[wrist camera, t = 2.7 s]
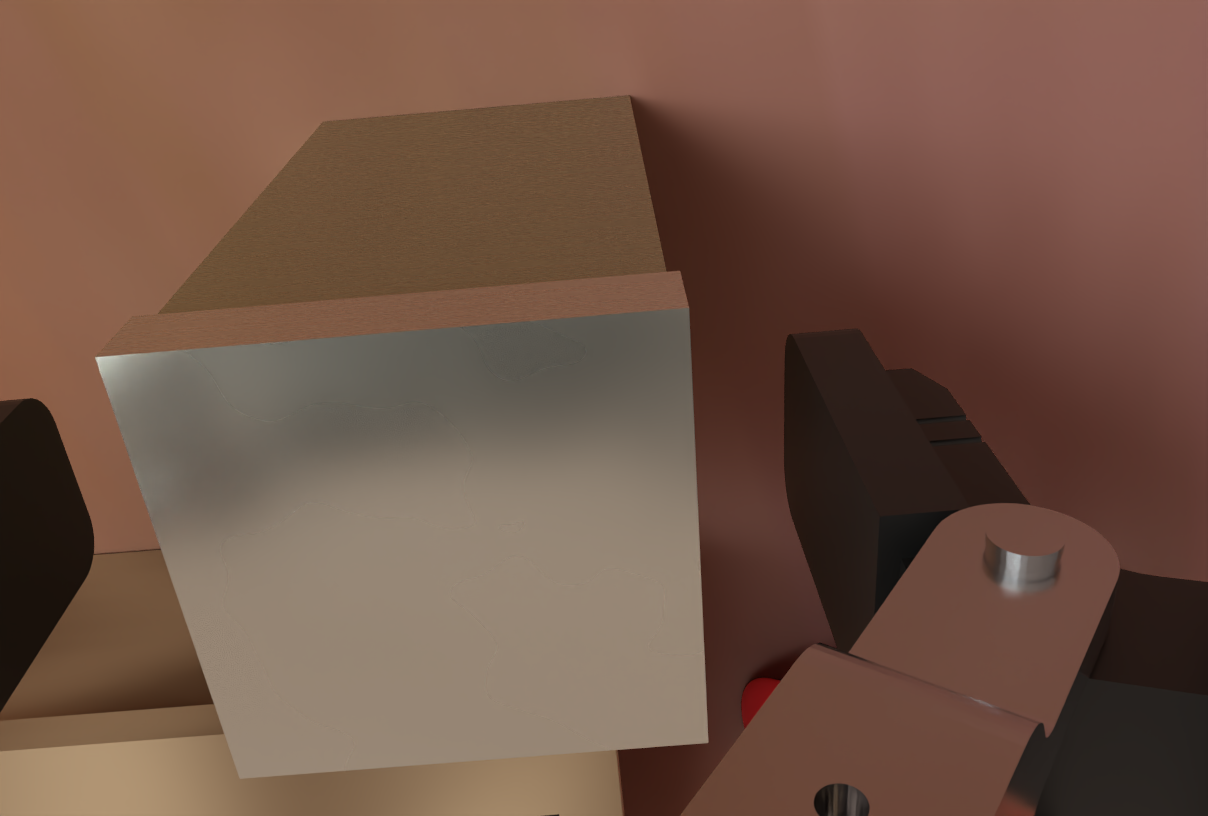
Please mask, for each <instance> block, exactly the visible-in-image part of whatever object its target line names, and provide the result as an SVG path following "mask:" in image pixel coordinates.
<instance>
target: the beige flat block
mask: <svg viewBox="0 0 1208 816" xmlns="http://www.w3.org/2000/svg"><path fill="white" fill-rule="evenodd" d="M557 814H559V816H624V806H623V796H622V787H621V777H620V767H619V757H618V750H609V751H596V752H583V753H570V754H557V755H544V756H531V757H518V758H505V759H492V760H479V761H466V762H453V763H439V764H426V765H413V766H400V767H387V768H374V769H361V770H348V771H335V772H322V773H309V774H296V775H283V776H270V777H257V778H244V779H240V778H239V775H238V772H237V769H236V766H235V763H234V761H233V758H232V755H231V752H230V749H229V746H228V743H227V740H226V737H225V734H224V731H223V729H222V726H221V723H220V720H219V717H218V714H217V711H216V708H215V705H214V702H213V699H212V696H211V694H210V691H209V688H208V685H207V682H206V679H205V676H204V673H203V670H202V667H201V664H200V661H199V659H198V656H197V653H196V650H195V647H194V644H193V641H192V638H191V635H190V632H189V629H188V626H187V624H186V621H185V618H184V615H183V612H182V609H181V606H180V603H179V600H178V597H177V594H176V592H175V589H174V586H173V583H172V580H171V577H170V574H169V571H168V568H167V565H166V562H165V559H164V557H163V554H162V551H161V550H150V551H138V552H125V553H113V554H100V555H93V561H92V565H91V568H90V571H89V574H88V576H87V577H86V579H85V581H84V582H83V584H82V586H81V587H80V589H79V590H78V592H77V593H76V595H75V596H74V598H73V600H72V601H71V603H70V604H69V606H68V607H67V609H66V611H65V612H64V614H63V615H62V617H61V618H60V620H59V622H58V623H57V625H56V626H55V628H54V629H53V631H52V633H51V634H50V636H49V637H48V639H47V640H46V642H45V643H44V645H43V647H42V648H41V650H40V651H39V653H38V654H37V656H36V658H35V659H34V661H33V662H32V664H31V665H30V667H29V669H28V670H27V672H26V673H25V675H24V676H23V678H22V679H21V681H20V683H19V684H18V686H17V687H16V689H15V690H14V692H13V694H12V695H11V697H10V698H9V700H8V701H7V703H6V705H5V706H4V708H3V709H2V711H1V712H0V816H545V815H557Z"/></svg>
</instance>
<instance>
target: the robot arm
mask: <svg viewBox="0 0 1208 816" xmlns="http://www.w3.org/2000/svg"><path fill="white" fill-rule="evenodd" d="M784 469H785V482H786V491H787V498H788V503H789V508H790V512H791V516H792V519H793V522H794V525H795V528H796V531H797V534H798V537H799V540H800V542H801V545H802V548H803V551H804V554H805V557H806V560H807V562H808V565H809V568H810V571H811V574H812V577H813V580H814V582H815V585H816V588H817V591H818V594H819V597H820V600H821V603H822V605H823V608H824V611H825V614H826V617H827V620H828V623H829V625H830V628H831V631H832V634H833V637H834V640H835V643H836V645H837V648H838V649H836V648H834V647H831V646H828V645H825V644H822V643H816V644H814V645H812V646H810V647H809V648H807V649H806V650H805V651H804V652H803V653H802V654H801V655H800V657H799V658H798V659H797V660H796V661H795V663H794V664H793V665H792V667H791V668H790V669H789V671H788V672H787V673H786V675H785V676H784V677H783V679H782V680H781V681H780V683H779V684H778V685H777V687H776V688H775V689H774V691H773V692H772V693H771V695H770V696H769V697H768V699H767V700H766V701H765V703H764V704H763V705H762V707H761V708H760V709H759V711H758V712H757V713H756V715H755V716H754V717H753V719H752V720H751V721H750V723H749V724H748V725H747V727H746V728H745V729H744V731H743V732H742V733H741V735H740V736H739V737H738V739H737V740H736V741H735V743H734V744H733V745H732V747H731V748H730V749H729V751H728V752H727V753H726V755H725V756H724V757H723V759H722V760H721V761H720V763H719V764H718V765H717V767H716V768H715V769H714V771H713V772H712V773H711V775H710V776H709V777H708V779H707V780H706V781H705V783H704V784H703V785H702V787H701V788H700V789H699V791H698V792H697V793H696V795H695V796H694V798H693V799H692V800H691V802H690V803H689V804H688V806H687V807H686V808H685V810H684V811H683V812H682V814H681V815H680V816H1208V582H1201V581H1193V580H1184V579H1175V578H1167V577H1158V576H1152V575H1145V574H1139V573H1135V572H1131V571H1127V570H1122V569H1120V563H1119V559H1118V556H1117V554H1116V551H1115V550H1114V548H1113V547H1112V546H1111V544H1110V543H1109V542H1108V541H1107V540H1106V539H1105V538H1104V537H1103V536H1102V535H1101V534H1100V533H1099V532H1097V531H1096V530H1094V529H1093V528H1091V527H1090V526H1089V525H1087V524H1085V523H1083V522H1081V521H1079V520H1077V519H1075V518H1073V517H1071V516H1068V515H1066V514H1063V513H1060V512H1057V511H1054V510H1050V509H1047V508H1042V507H1037V506H1033V505H1030V504H1029V503H1028V501H1027V500H1026V498H1025V497H1024V496H1023V494H1022V493H1021V491H1020V490H1019V489H1018V487H1017V486H1016V484H1015V483H1014V482H1013V480H1012V479H1011V477H1010V476H1009V475H1008V473H1007V472H1006V470H1005V469H1004V468H1003V466H1002V465H1001V463H1000V462H999V461H998V459H997V458H996V456H995V455H994V454H993V452H992V451H991V449H990V448H989V447H988V445H987V444H986V442H982V441H981V436H980V434H979V433H978V431H977V430H976V429H975V427H974V426H973V424H972V423H971V422H970V420H966V415H965V413H964V412H963V410H962V409H961V408H960V406H959V405H958V403H957V402H956V401H955V399H954V398H953V396H952V395H951V394H950V392H949V391H948V389H946V388H945V387H943V386H941V385H939V384H938V383H936V382H934V381H933V380H931V379H929V378H927V377H926V376H924V375H922V374H920V373H919V372H917V371H915V370H914V369H912V368H910V369H899V370H887V371H885V369H884V368H883V366H882V365H881V363H880V361H879V360H878V358H877V357H876V355H875V353H874V352H873V350H872V349H871V347H870V345H869V344H868V342H867V341H866V339H865V337H864V336H863V334H862V333H861V331H860V330H859V329H846V330H835V331H823V332H812V333H800V334H789V335H788V337H787V340H786V346H785V385H784ZM93 555H94V534H93V527H92V523H91V519H90V516H89V513H88V511H87V508H86V505H85V502H84V500H83V497H82V494H81V491H80V489H79V486H78V483H77V481H76V478H75V475H74V472H73V470H72V467H71V464H70V461H69V459H68V456H67V453H66V451H65V448H64V445H63V442H62V440H61V437H60V434H59V431H58V429H57V426H56V423H55V421H54V419H53V416H52V415H51V413H50V411H49V410H48V408H47V407H46V406H45V405H44V404H43V403H42V402H40V401H39V400H37V399H33V398H30V399H19V400H7V401H0V712H1V711H2V709H3V708H4V706H5V705H6V703H7V701H8V700H9V698H10V697H11V695H12V694H13V692H14V690H15V689H16V687H17V686H18V684H19V683H20V681H21V679H22V678H23V676H24V675H25V673H26V672H27V670H28V669H29V667H30V665H31V664H32V662H33V661H34V659H35V658H36V656H37V654H38V653H39V651H40V650H41V648H42V647H43V645H44V643H45V642H46V640H47V639H48V637H49V636H50V634H51V633H52V631H53V629H54V628H55V626H56V625H57V623H58V622H59V620H60V618H61V617H62V615H63V614H64V612H65V611H66V609H67V607H68V606H69V604H70V603H71V601H72V600H73V598H74V596H75V595H76V593H77V592H78V590H79V589H80V587H81V586H82V584H83V582H84V581H85V579H86V577H87V576H88V574H89V571H90V568H91V565H92V561H93ZM545 816H559V814H557V815H545Z"/></svg>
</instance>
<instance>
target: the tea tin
mask: <svg viewBox="0 0 1208 816" xmlns="http://www.w3.org/2000/svg"><path fill="white" fill-rule="evenodd" d="M95 358H96V361H97V364H98V367H99V370H100V373H101V376H102V379H103V382H104V385H105V387H106V390H107V393H108V396H109V399H110V402H111V405H112V408H113V411H114V414H115V417H116V420H117V422H118V425H119V428H120V431H121V434H122V437H123V440H124V443H125V446H126V449H127V452H128V455H129V457H130V460H131V463H132V466H133V469H134V472H135V475H136V478H137V481H138V484H139V487H140V489H141V492H142V495H143V498H144V501H145V504H146V507H147V510H148V513H149V516H150V519H151V522H152V524H153V527H154V530H155V533H156V536H157V539H158V542H159V545H160V548H161V551H162V554H163V557H164V559H165V562H166V565H167V568H168V571H169V574H170V577H171V580H172V583H173V586H174V589H175V592H176V594H177V597H178V600H179V603H180V606H181V609H182V612H183V615H184V618H185V621H186V624H187V626H188V629H189V632H190V635H191V638H192V641H193V644H194V647H195V650H196V653H197V656H198V659H199V661H200V664H201V667H202V670H203V673H204V676H205V679H206V682H207V685H208V688H209V691H210V694H211V696H212V699H213V702H214V705H215V708H216V711H217V714H218V717H219V720H220V723H221V726H222V729H223V731H224V734H225V737H226V740H227V743H228V746H229V749H230V752H231V755H232V758H233V761H234V763H235V766H236V769H237V772H238V775H239V778H240V779H244V778H257V777H270V776H283V775H296V774H309V773H322V772H335V771H348V770H361V769H374V768H387V767H400V766H413V765H426V764H439V763H453V762H466V761H479V760H492V759H505V758H518V757H531V756H544V755H557V754H570V753H583V752H596V751H609V750H622V749H635V748H648V747H661V746H674V745H688V744H701V743H708V722H707V699H706V677H705V654H704V632H703V609H702V587H701V564H700V542H699V519H698V497H697V474H696V452H695V429H694V407H693V385H692V362H691V340H690V317H689V305H688V301H687V297H686V293H685V289H684V285H683V281H682V276H681V272H680V271H670V272H667V271H666V266H665V262H664V257H663V252H662V247H661V242H660V238H659V233H658V228H657V223H656V219H655V214H654V209H653V204H652V200H651V195H650V190H649V185H648V181H647V176H646V171H645V166H644V162H643V157H642V152H641V147H640V143H639V138H638V133H637V128H636V124H635V119H634V114H633V109H632V105H631V100H630V95H628V96H617V97H605V98H593V99H582V100H570V101H559V102H547V103H536V104H524V105H513V106H501V107H489V108H478V109H466V110H455V111H443V112H432V113H420V114H408V115H397V116H385V117H374V118H362V119H351V120H339V121H327V122H322V124H321V125H320V126H319V127H318V128H317V129H316V131H315V132H314V133H313V134H312V135H311V136H310V138H309V139H308V140H307V141H306V142H305V143H304V145H303V146H302V147H301V148H300V149H299V150H298V152H297V153H296V154H295V155H294V156H293V157H292V158H291V160H290V161H289V162H288V163H287V164H286V165H285V167H284V168H283V169H282V170H281V171H280V172H279V174H278V175H277V176H276V177H275V178H274V179H273V181H272V182H271V183H270V184H269V185H268V186H267V188H266V189H265V190H264V191H263V192H262V193H261V194H260V196H259V197H258V198H257V199H256V200H255V201H254V203H253V204H252V205H251V206H250V207H249V208H248V210H247V211H246V212H245V213H244V214H243V215H242V217H241V218H240V219H239V220H238V221H237V222H236V223H235V225H234V226H233V227H232V228H231V229H230V230H229V232H228V233H227V234H226V235H225V236H224V237H223V239H222V240H221V241H220V242H219V243H218V244H217V246H216V247H215V248H214V249H213V250H212V251H211V253H210V254H209V255H208V256H207V257H206V258H205V259H204V261H203V262H202V263H201V264H200V265H199V266H198V268H197V269H196V270H195V271H194V272H193V273H192V275H191V276H190V277H189V278H188V279H187V280H186V282H185V283H184V284H183V285H182V286H181V287H180V288H179V290H178V291H177V292H176V293H175V294H174V295H173V297H172V298H171V299H170V300H169V301H168V302H167V304H166V305H165V306H164V307H163V308H162V309H161V311H160V312H159V313H158V314H156V315H144V316H132V317H131V318H130V319H129V320H128V322H127V323H126V324H125V325H124V326H123V327H122V328H121V329H120V330H119V331H118V333H117V334H116V335H115V336H114V337H113V338H112V339H111V340H110V341H109V342H108V344H107V345H106V346H105V347H104V348H103V349H102V350H101V351H100V352H99V353H98V355H97V356H96V357H95Z"/></svg>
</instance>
